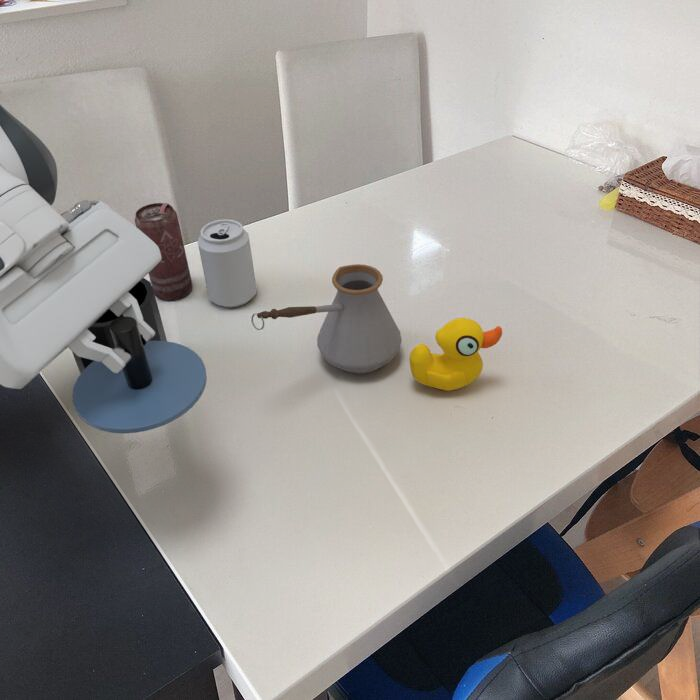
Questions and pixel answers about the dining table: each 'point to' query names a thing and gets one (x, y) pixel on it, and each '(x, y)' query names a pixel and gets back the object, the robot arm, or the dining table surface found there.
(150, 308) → the cup
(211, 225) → the can
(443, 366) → the duckling
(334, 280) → the coffee pot
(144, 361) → the lid
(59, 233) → the robot arm
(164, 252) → the can
